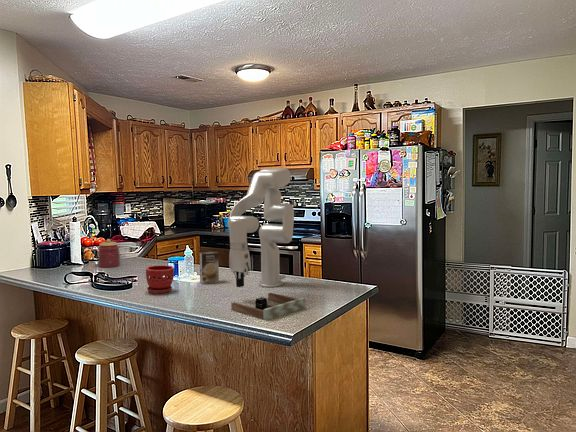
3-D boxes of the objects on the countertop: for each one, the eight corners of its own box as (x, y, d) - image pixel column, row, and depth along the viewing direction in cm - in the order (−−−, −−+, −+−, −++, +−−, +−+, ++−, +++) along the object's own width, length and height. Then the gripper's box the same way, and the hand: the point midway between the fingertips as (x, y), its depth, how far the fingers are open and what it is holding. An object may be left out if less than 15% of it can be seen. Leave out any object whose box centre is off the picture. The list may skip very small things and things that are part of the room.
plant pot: (151, 296, 202) (151, 270, 201) (142, 290, 212) (142, 266, 212) (178, 292, 209) (177, 267, 209) (168, 287, 220) (168, 263, 219)
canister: (116, 263, 288) (115, 237, 286) (123, 266, 278) (122, 239, 276) (95, 265, 279) (94, 238, 278) (101, 268, 269) (100, 240, 268)
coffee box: (201, 284, 225) (201, 253, 224) (199, 281, 231) (199, 252, 230) (219, 282, 229) (218, 252, 228) (216, 280, 235) (216, 251, 234)
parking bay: (270, 299, 196) (270, 290, 195) (305, 307, 182) (305, 298, 181) (231, 310, 179) (231, 300, 178) (266, 320, 165) (266, 310, 164)
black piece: (264, 304, 189) (264, 294, 189) (277, 307, 184) (277, 297, 184) (244, 310, 179) (244, 299, 179) (257, 314, 175) (257, 302, 174)
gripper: (256, 246, 189) (257, 287, 191) (234, 243, 199) (235, 281, 201) (243, 249, 184) (245, 291, 186) (221, 245, 194) (223, 285, 196)
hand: (240, 286), depth 194 cm, fingers closed
